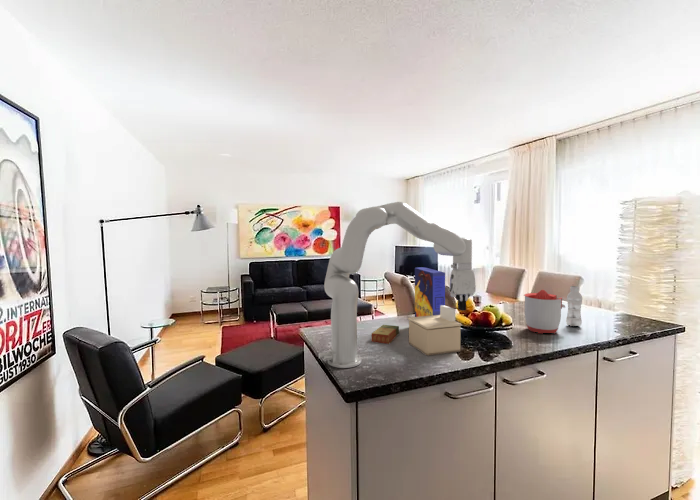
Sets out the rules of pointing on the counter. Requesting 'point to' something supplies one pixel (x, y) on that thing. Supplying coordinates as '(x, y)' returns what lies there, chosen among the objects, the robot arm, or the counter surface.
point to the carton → (385, 334)
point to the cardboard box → (434, 339)
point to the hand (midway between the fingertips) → (461, 309)
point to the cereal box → (429, 291)
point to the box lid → (437, 319)
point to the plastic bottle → (574, 307)
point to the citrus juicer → (543, 312)
